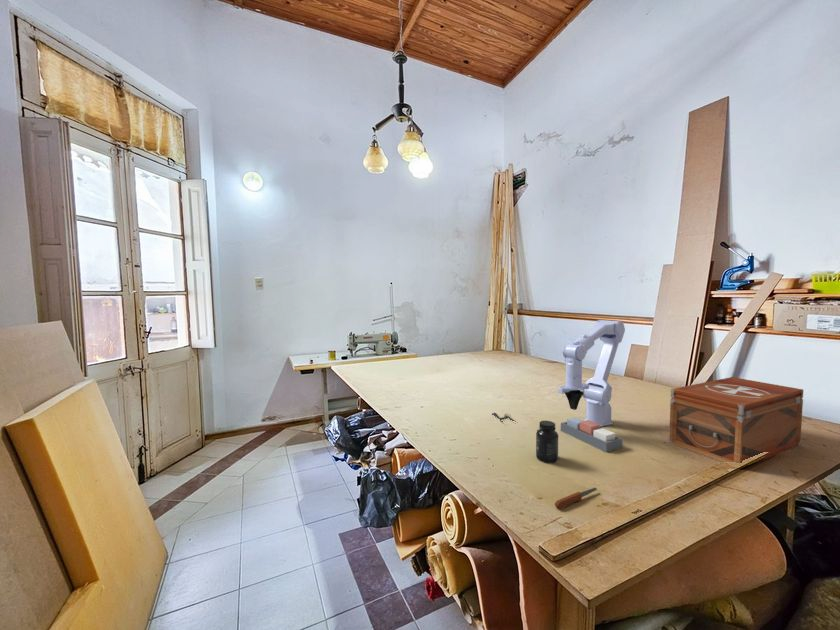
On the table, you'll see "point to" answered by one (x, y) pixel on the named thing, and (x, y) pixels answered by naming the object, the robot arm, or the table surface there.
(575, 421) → the light blue square block
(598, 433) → the ivory key
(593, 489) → the chisel
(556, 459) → the supplement bottle
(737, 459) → the wooden box
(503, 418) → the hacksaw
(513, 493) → the table surface
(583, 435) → the key housing
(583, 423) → the brick key
